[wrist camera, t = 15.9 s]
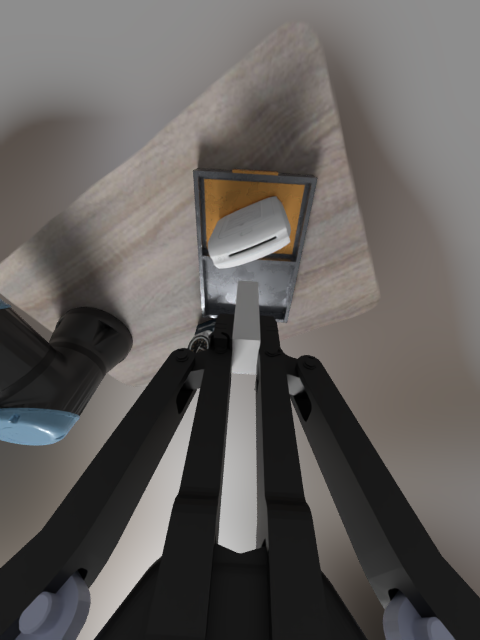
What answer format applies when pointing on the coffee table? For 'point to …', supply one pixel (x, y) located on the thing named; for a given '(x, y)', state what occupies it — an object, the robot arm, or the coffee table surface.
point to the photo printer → (249, 233)
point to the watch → (202, 336)
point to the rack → (269, 271)
